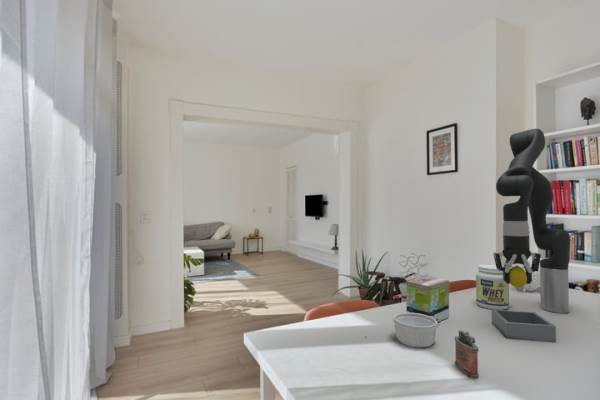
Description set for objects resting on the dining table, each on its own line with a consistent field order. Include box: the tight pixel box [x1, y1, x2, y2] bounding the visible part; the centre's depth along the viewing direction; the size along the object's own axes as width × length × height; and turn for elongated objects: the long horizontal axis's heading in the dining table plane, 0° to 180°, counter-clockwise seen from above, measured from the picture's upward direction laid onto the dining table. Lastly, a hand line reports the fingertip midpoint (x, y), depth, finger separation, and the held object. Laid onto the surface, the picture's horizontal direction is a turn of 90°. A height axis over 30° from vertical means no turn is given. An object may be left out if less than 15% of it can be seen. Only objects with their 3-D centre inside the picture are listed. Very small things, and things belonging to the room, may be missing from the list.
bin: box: [491, 309, 557, 343], centre depth 112 cm, size 14×14×5 cm
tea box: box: [405, 276, 450, 323], centre depth 125 cm, size 15×10×15 cm, turn 131°
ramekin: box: [393, 312, 438, 349], centre depth 105 cm, size 13×13×7 cm
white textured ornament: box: [511, 256, 543, 293], centre depth 164 cm, size 18×11×17 cm, turn 108°
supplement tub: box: [475, 264, 510, 310], centre depth 140 cm, size 12×12×17 cm
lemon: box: [508, 266, 527, 290], centre depth 112 cm, size 6×6×8 cm
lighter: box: [454, 329, 480, 379], centre depth 86 cm, size 8×3×10 cm, turn 5°
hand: (517, 283), depth 112 cm, fingers closed on lemon, 5 cm apart
